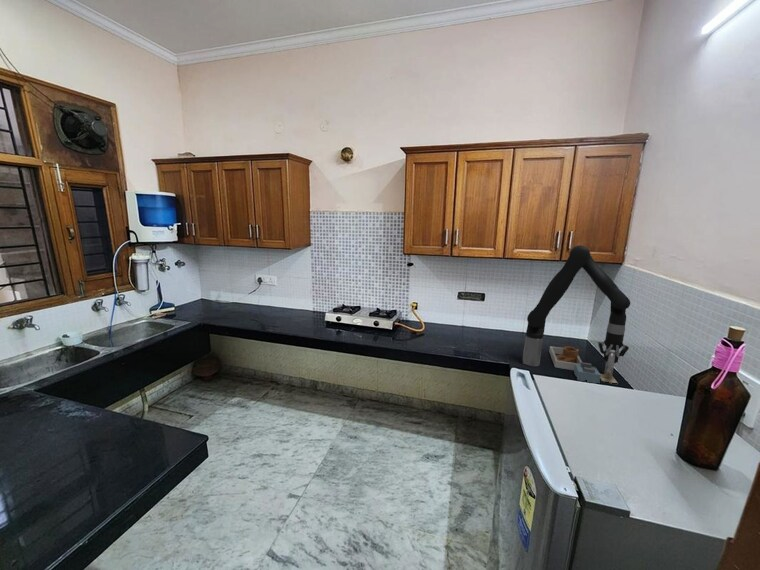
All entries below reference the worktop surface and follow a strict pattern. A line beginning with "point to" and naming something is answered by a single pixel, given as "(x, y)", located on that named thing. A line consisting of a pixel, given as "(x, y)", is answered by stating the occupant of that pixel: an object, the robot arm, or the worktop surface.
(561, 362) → the frame
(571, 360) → the bracket
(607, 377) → the rest board
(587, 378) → the vise block
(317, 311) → the worktop surface
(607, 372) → the steel pin
